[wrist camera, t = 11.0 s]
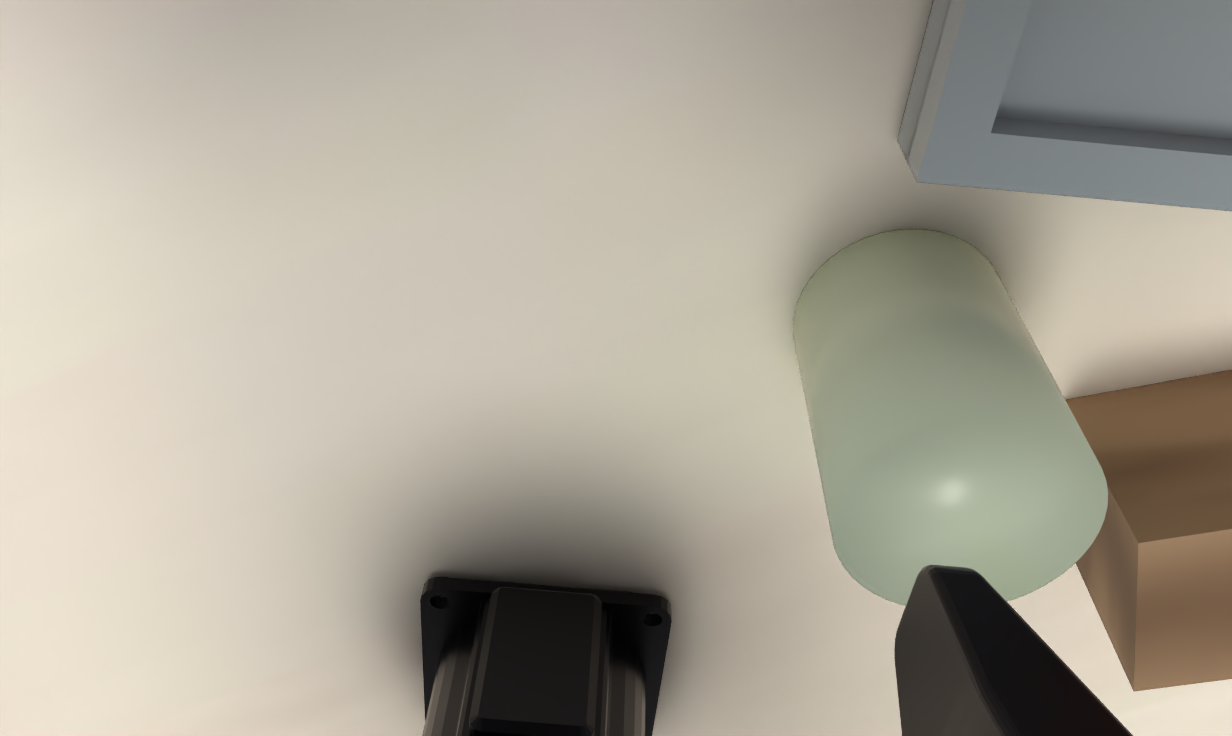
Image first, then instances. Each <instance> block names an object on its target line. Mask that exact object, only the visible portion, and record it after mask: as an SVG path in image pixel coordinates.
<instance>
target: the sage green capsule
mask: <svg viewBox="0 0 1232 736" xmlns="http://www.w3.org/2000/svg"><path fill="white" fill-rule="evenodd" d="M793 338H794V343H795V349H796V354H797V359H798V364H799V369H800V374H801V380H802V385H803V390H804V395H805V400H806V405H807V410H808V416H809V421H810V426H811V431H812V436H813V441H814V446H815V451H816V457H817V462H818V467H819V472H820V477H821V482H822V487H823V493H824V498H825V503H826V508H827V513H828V518H829V523H830V529H831V534H832V539H833V544H834V548H835V550H836V553H837V556H838V558H839V560H840V561H841V563H842V565H843V566H844V568H845V569H846V570H847V572H848V573H849V574H850V575H851V576H852V577H853V578H854V579H855V580H856V581H857V582H858V583H859V584H861V585H862V586H863V587H865V588H866V589H868V590H869V591H871V592H872V593H874V594H876V595H878V596H880V597H882V598H884V599H886V600H889V601H892V602H895V603H898V604H901V605H905V606H906V604H907V602H908V599H909V596H910V594H911V591H912V588H913V585H914V583H915V580H916V577H917V575H918V574H919V572H920V571H921V569H922V568H923V567H925V566H928V565H943V566H954V567H966V568H971V569H973V570H975V571H977V572H978V573H980V574H981V575H982V576H983V577H984V578H985V579H986V580H987V581H988V582H989V583H990V584H991V586H992V587H993V588H994V589H995V590H996V591H997V592H998V593H999V594H1000V595H1001V596H1002V597H1003V598H1004V599H1005V600H1006V601H1010V600H1013V599H1016V598H1019V597H1021V596H1024V595H1026V594H1029V593H1031V592H1033V591H1035V590H1037V589H1039V588H1041V587H1043V586H1045V585H1046V584H1048V583H1049V582H1051V581H1053V580H1054V579H1056V578H1057V577H1059V576H1060V575H1061V574H1063V573H1064V572H1065V571H1067V570H1068V569H1069V568H1070V567H1072V566H1073V565H1074V564H1075V563H1076V562H1077V561H1078V560H1079V559H1080V558H1081V557H1082V556H1083V555H1084V553H1085V552H1086V551H1087V550H1088V548H1089V547H1090V546H1091V545H1092V543H1093V542H1094V540H1095V538H1096V537H1097V535H1098V533H1099V531H1100V529H1101V527H1102V524H1103V522H1104V519H1105V515H1106V511H1107V506H1108V489H1107V482H1106V478H1105V475H1104V473H1103V470H1102V467H1101V466H1100V464H1099V462H1098V460H1097V458H1096V456H1095V454H1094V453H1093V451H1092V449H1091V447H1090V445H1089V443H1088V441H1087V440H1086V438H1085V436H1084V434H1083V432H1082V430H1081V428H1080V427H1079V425H1078V423H1077V421H1076V419H1075V417H1074V415H1073V414H1072V412H1071V410H1070V408H1069V406H1068V404H1067V402H1066V401H1065V399H1064V397H1063V395H1062V393H1061V391H1060V389H1059V388H1058V386H1057V384H1056V382H1055V380H1054V378H1053V376H1052V374H1051V373H1050V371H1049V369H1048V367H1047V365H1046V363H1045V361H1044V360H1043V358H1042V356H1041V354H1040V352H1039V350H1038V348H1037V347H1036V345H1035V343H1034V341H1033V339H1032V337H1031V335H1030V334H1029V332H1028V330H1027V328H1026V326H1025V324H1024V322H1023V321H1022V319H1021V317H1020V315H1019V313H1018V311H1017V309H1016V308H1015V306H1014V304H1013V302H1012V300H1011V298H1010V296H1009V295H1008V293H1007V291H1006V289H1005V287H1004V285H1003V283H1002V282H1001V280H1000V278H999V276H998V274H997V272H996V271H995V269H994V267H993V266H992V264H991V263H990V262H989V261H988V260H987V258H986V257H985V256H984V255H983V254H982V253H981V252H979V251H978V250H977V249H976V248H975V247H973V246H971V245H970V244H968V243H967V242H965V241H963V240H961V239H959V238H956V237H954V236H952V235H948V234H945V233H941V232H938V231H931V230H924V229H904V230H894V231H889V232H884V233H879V234H876V235H873V236H870V237H867V238H864V239H862V240H860V241H857V242H855V243H853V244H851V245H849V246H848V247H846V248H844V249H842V250H841V251H839V252H838V253H837V254H835V255H834V256H832V257H831V258H830V259H828V260H827V261H826V262H825V263H824V264H823V265H822V266H821V267H820V268H819V269H818V270H817V271H816V272H815V274H814V275H813V276H812V277H811V278H810V280H809V281H808V283H807V285H806V286H805V288H804V289H803V291H802V293H801V295H800V298H799V300H798V302H797V306H796V309H795V312H794V319H793Z"/></svg>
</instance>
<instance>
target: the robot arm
mask: <svg viewBox="0 0 1232 736" xmlns="http://www.w3.org/2000/svg"><path fill="white" fill-rule="evenodd" d="M437 595H441V596H445V597H440V596H437ZM420 602H421V627H422V651H423V676H424V700H425V726H424V731H423V735H422V736H652V731H653V725H654V720H655V714H656V708H657V702H658V696H659V691H660V685H661V679H662V673H663V668H664V662H665V656H666V650H667V645H668V639H669V633H670V627H671V621H672V620H671V604H670V603H669V601H668V600H667V599H665V598H663V597H662V596H657V595H651V594H639V593H627V592H615V591H603V590H591V589H579V588H567V587H555V586H543V585H531V584H519V583H507V582H495V581H483V580H471V579H459V578H448V577H435V578H432V579H430V580H428V581H427V582H426V583H425V584H424V588H423V592H422V596H421V600H420ZM648 613H655V614H648ZM895 667H896V677H897V687H898V697H899V707H900V718H901V728H902V736H1133V735H1132V734H1131V733H1130V732H1129V731H1128V730H1127V729H1126V728H1125V727H1124V726H1123V725H1122V723H1121V722H1120V721H1119V720H1118V719H1117V718H1116V717H1115V716H1114V715H1113V714H1112V713H1111V712H1110V711H1109V710H1108V709H1107V708H1106V706H1105V705H1104V704H1103V703H1102V702H1101V701H1100V700H1099V699H1098V698H1097V697H1096V696H1095V695H1094V694H1093V693H1092V692H1091V691H1090V689H1089V688H1088V687H1087V686H1086V685H1085V684H1084V683H1083V682H1082V681H1081V680H1080V679H1079V678H1078V677H1077V676H1076V675H1075V674H1074V673H1073V671H1072V670H1071V669H1070V668H1069V667H1068V666H1067V665H1066V664H1065V663H1064V662H1063V661H1062V660H1061V659H1060V658H1059V657H1058V656H1057V654H1056V653H1055V652H1054V651H1053V650H1052V649H1051V648H1050V647H1049V646H1048V645H1047V644H1046V643H1045V642H1044V641H1043V640H1042V639H1041V638H1040V636H1039V635H1038V634H1037V633H1036V632H1035V631H1034V630H1033V629H1032V628H1031V627H1030V626H1029V625H1028V624H1027V623H1026V622H1025V621H1024V619H1023V618H1022V617H1021V616H1020V615H1019V614H1018V613H1017V612H1016V611H1015V610H1014V609H1013V608H1012V607H1011V606H1010V605H1009V604H1008V603H1007V601H1006V600H1005V599H1004V598H1003V597H1002V596H1001V595H1000V594H999V593H998V592H997V591H996V590H995V589H994V588H993V587H992V586H991V584H990V583H989V582H988V581H987V580H986V579H985V578H984V577H983V576H982V575H981V574H980V573H978V572H977V571H975V570H973V569H971V568H966V567H954V566H943V565H928V566H925V567H923V568H922V569H921V571H920V572H919V574H918V575H917V577H916V580H915V583H914V585H913V588H912V591H911V594H910V596H909V599H908V602H907V604H906V607H905V610H904V613H903V615H902V618H901V621H900V623H899V626H898V629H897V633H896V638H895Z"/></svg>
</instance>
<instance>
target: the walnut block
mask: <svg viewBox="0 0 1232 736" xmlns="http://www.w3.org/2000/svg"><path fill="white" fill-rule="evenodd" d="M1065 401H1066V402H1067V404H1068V406H1069V408H1070V410H1071V412H1072V414H1073V415H1074V417H1075V419H1076V421H1077V423H1078V425H1079V427H1080V428H1081V430H1082V432H1083V434H1084V436H1085V438H1086V440H1087V441H1088V443H1089V445H1090V447H1091V449H1092V451H1093V453H1094V454H1095V456H1096V458H1097V460H1098V462H1099V464H1100V466H1101V467H1102V470H1103V473H1104V475H1105V478H1106V482H1107V489H1108V506H1107V511H1106V515H1105V519H1104V522H1103V524H1102V527H1101V529H1100V531H1099V533H1098V535H1097V537H1096V538H1095V540H1094V542H1093V543H1092V545H1091V546H1090V547H1089V548H1088V550H1087V551H1086V552H1085V553H1084V555H1083V556H1082V557H1081V558H1080V559H1079V560H1078V561H1077V562H1076V565H1077V567H1078V569H1079V571H1080V573H1081V576H1082V578H1083V580H1084V582H1085V585H1086V587H1087V589H1088V591H1089V593H1090V596H1091V598H1092V600H1093V602H1094V604H1095V607H1096V609H1097V611H1098V613H1099V616H1100V618H1101V620H1102V622H1103V624H1104V627H1105V629H1106V631H1107V633H1108V635H1109V638H1110V640H1111V642H1112V644H1113V647H1114V649H1115V651H1116V653H1117V655H1118V658H1119V660H1120V662H1121V664H1122V666H1123V669H1124V671H1125V673H1126V675H1127V678H1128V680H1129V682H1130V684H1131V686H1132V689H1133V691H1141V690H1149V689H1156V688H1164V687H1172V686H1180V685H1187V684H1195V683H1203V682H1211V681H1218V680H1226V679H1232V370H1227V371H1222V372H1216V373H1211V374H1205V375H1200V376H1194V377H1189V378H1183V379H1178V380H1172V381H1167V382H1161V383H1155V384H1150V385H1144V386H1139V387H1133V388H1128V389H1122V390H1117V391H1111V392H1106V393H1100V394H1095V395H1089V396H1083V397H1078V398H1072V399H1067V400H1065Z"/></svg>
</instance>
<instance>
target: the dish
mask: <svg viewBox="0 0 1232 736" xmlns="http://www.w3.org/2000/svg"><path fill="white" fill-rule="evenodd" d="M897 142H898V144H899V146H900V148H901V150H902V152H903V154H904V156H905V158H906V160H907V163H908V165H909V167H910V169H911V171H912V173H913V175H914V177H915V179H916V181H917V182H922V183H933V184H943V185H954V186H965V187H976V188H987V189H997V190H1008V191H1019V192H1030V193H1041V194H1051V195H1062V196H1073V197H1084V198H1094V199H1105V200H1116V201H1127V202H1138V203H1148V204H1159V205H1170V206H1181V207H1191V208H1202V209H1213V210H1224V211H1232V0H934V1H933V5H932V9H931V13H930V16H929V20H928V24H927V28H926V32H925V36H924V39H923V43H922V47H921V51H920V55H919V59H918V63H917V66H916V70H915V74H914V78H913V82H912V86H911V90H910V93H909V97H908V101H907V105H906V109H905V113H904V117H903V120H902V124H901V128H900V132H899V136H898V140H897Z"/></svg>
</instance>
